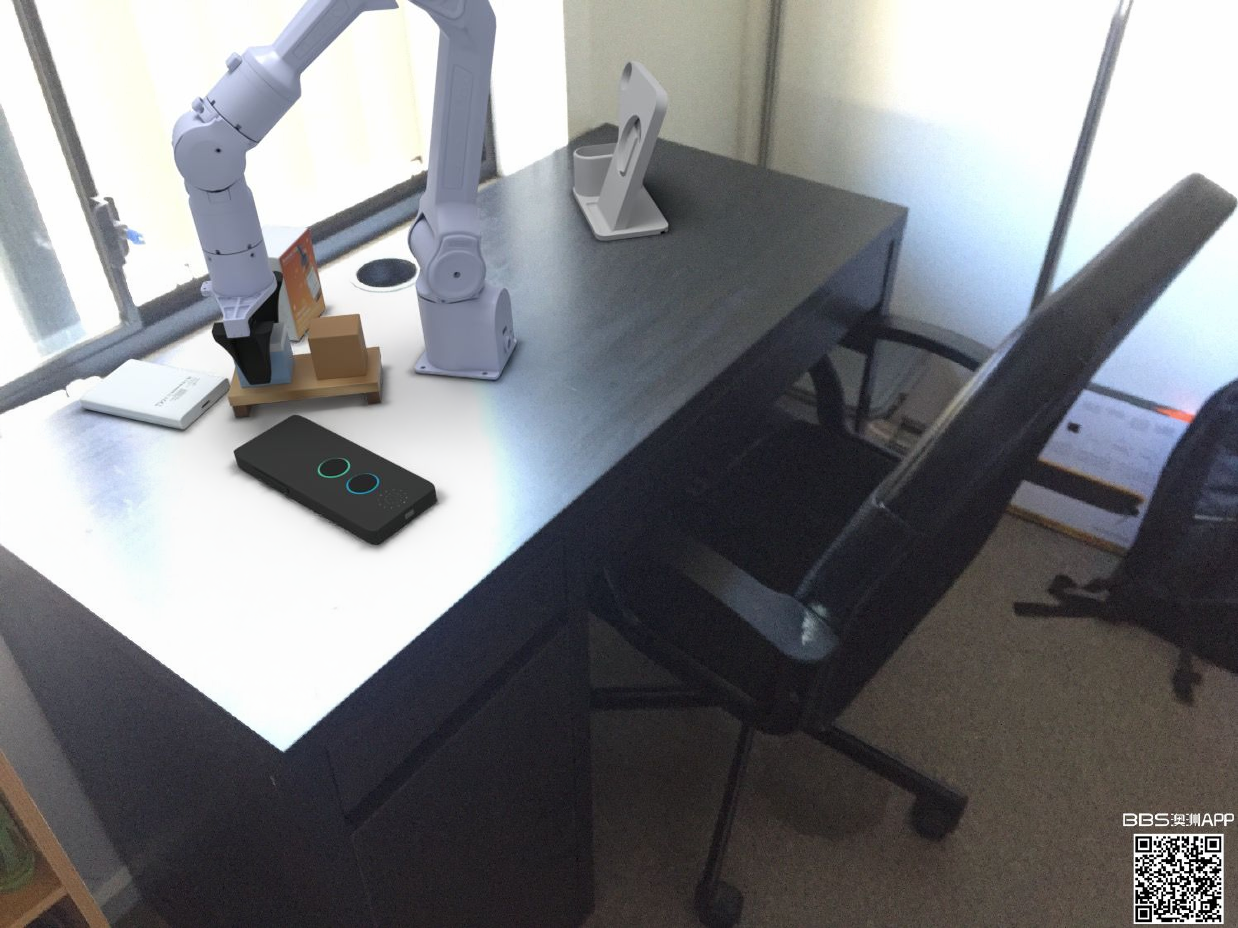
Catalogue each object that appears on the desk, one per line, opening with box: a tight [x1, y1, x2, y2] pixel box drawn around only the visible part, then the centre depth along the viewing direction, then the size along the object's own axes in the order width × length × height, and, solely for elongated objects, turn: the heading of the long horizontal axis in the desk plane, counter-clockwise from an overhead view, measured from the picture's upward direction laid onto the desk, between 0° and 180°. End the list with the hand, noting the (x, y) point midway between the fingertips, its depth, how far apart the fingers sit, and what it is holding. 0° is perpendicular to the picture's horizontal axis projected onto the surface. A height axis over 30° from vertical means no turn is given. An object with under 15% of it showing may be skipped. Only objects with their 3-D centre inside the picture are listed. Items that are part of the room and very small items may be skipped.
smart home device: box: [233, 414, 438, 545], centre depth 99 cm, size 8×2×20 cm
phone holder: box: [572, 59, 669, 242], centre depth 140 cm, size 17×10×18 cm, turn 14°
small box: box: [261, 224, 327, 341], centre depth 120 cm, size 8×6×10 cm
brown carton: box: [307, 313, 367, 380], centre depth 109 cm, size 5×4×5 cm
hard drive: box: [79, 358, 231, 430], centre depth 111 cm, size 2×8×12 cm
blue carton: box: [232, 322, 295, 388], centre depth 108 cm, size 5×4×5 cm
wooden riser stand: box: [227, 346, 384, 419], centre depth 111 cm, size 15×7×3 cm, turn 99°
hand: (264, 362), depth 108 cm, fingers open, 7 cm apart
